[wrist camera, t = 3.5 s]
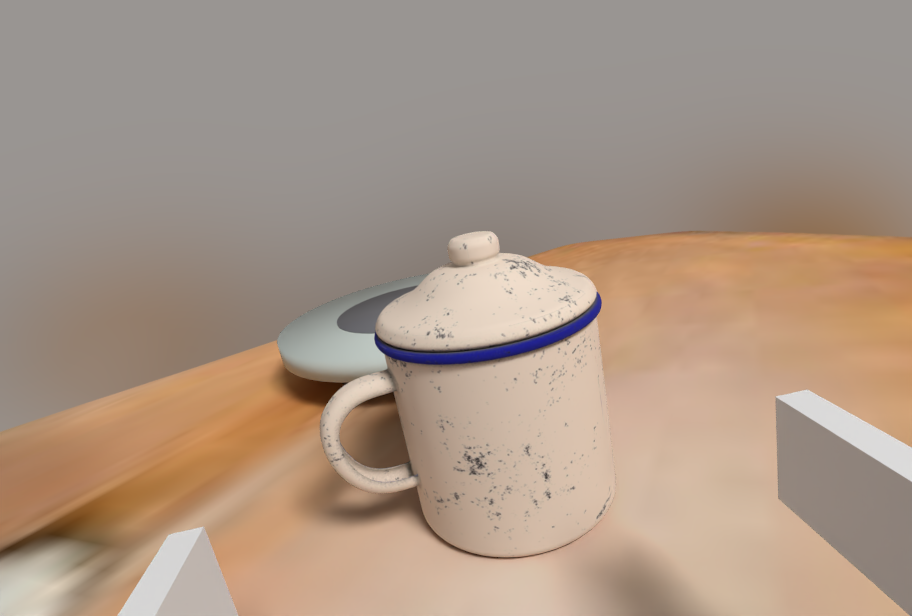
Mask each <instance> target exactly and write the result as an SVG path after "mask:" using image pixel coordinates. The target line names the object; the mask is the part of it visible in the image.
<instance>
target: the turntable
mask: <svg viewBox="0 0 912 616" xmlns="http://www.w3.org/2000/svg"><path fill="white" fill-rule="evenodd" d="M428 275H429V274H425V275H420V276H414V277H409V278H405V279H400V280H396V281H392V282H388V283H384V284H380V285H377V286H373V287H370V288H366V289H363V290H360V291H357V292H354V293H351V294H348V295H345V296H343V297H340V298H338V299H335V300H332V301H330V302H328V303H326V304H323V305H321V306H319V307H317V308H315V309H313V310H311V311H309V312H307V313H305V314H303V315H302V316H300V317H298V318H297V319H295V320H294V321H293V322H291V323H290V324H289V325H288V326H286V327H285V328H284V330H283V331H282V332H281V333H280V335H279V337H278V341H277V344H278V347H279V351H280V354H281V357H282V361H283V363H284V366H285V368H286V369H287V370H288V371H289V372H291V373H293V374H295V375H297V376H299V377H302V378H306V379H309V380H316V381H322V382H338V383H341V382H351V381H353V380H355V379H357V378H360V377H363V376H366V375H369V374H372V373H376V372H379V371H383V370H386V369H387V363H386V359H385V355H384V354H383V353H382V352H381V351H380V350H379V349H378V348H377V346H376V344H375V340H374V336H375V332H376V330H375V326H376V322H377V319H378V317H379V315H380V313H381V312H382V310H383V309H384V308H385V307H386V306H387V305H389V304H390V303H391V302H392V301H394V300H395V299H397V298H399V297H401V296H402V295H404V294H406V293H408V292H410V291H413V290H414V289H415V288H416V287H417V286H418V285H419V284H420V283H421V282H422V281H423V280H424V279H425V278H426V277H427V276H428Z"/></svg>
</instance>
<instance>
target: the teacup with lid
mask: <svg viewBox="0 0 912 616" xmlns="http://www.w3.org/2000/svg"><path fill="white" fill-rule="evenodd" d="M448 254H449V258H450V260H451V261H452V262H450V263H448V264H445V265H443V266H441V267H439V268H437V269H436V270H434V271H433V272H432V273H430V274H429V275H428V276H427V277H426V278H425V279H424V280H423V281H422V282H421V283H420V284H419V285H418V286H417V287H416V288H415V289H414V290H413V291H410V292H408V293H406V294H404V295H402V296H401V297H399V298H397V299H395V300H394V301H392V302H391V303H390V304H389V305H387V306H386V307H385V308H384V309H383V310H382V312H381V313H380V315H379V317H378V319H377V322H376V326H375V330H376V332H375V336H374V340H375V344H376V346H377V348H378V349H379V350H380V351H381V352H382V353H383V354H384V355H385V359H386V363H387V369H386V370H383V371H379V372H376V373H372V374H369V375H366V376H363V377H360V378H357V379H355V380H353V381H351V382H349V383H347V384H346V385H344V386H343V387H342V388H340V389H339V390H338V391H337V392H336V393H335V394H334V395H333V396H332V398H331V399H330V400H329V402H328V403H327V405H326V407H325V408H324V411H323V413H322V416H321V421H320V437H321V442H322V446H323V449H324V452H325V454H326V456H327V459H328V460H329V462H330V464H331V465H332V467H333V468H334V469H335V471H336V472H337V473H338V474H339V475H340V476H341V477H342V478H343V479H344V480H345V481H347V482H348V483H350V484H351V485H353V486H354V487H356V488H358V489H361V490H363V491H366V492H370V493H378V494H385V493H393V492H398V491H402V490H406V489H409V488H412V487H415V486H417V490H418V494H419V499H420V503H421V507H422V511H423V514H424V516H425V518H426V521H427V522H428V524H429V525H430V527H431V528H432V529H433V530H434V531H435V533H437V534H438V535H439V536H440V537H441V538H442V539H444V540H445V541H447V542H448V543H450V544H452V545H454V546H455V547H458V548H460V549H462V550H465V551H468V552H471V553H474V554H479V555H484V556H491V557H522V556H529V555H535V554H540V553H544V552H548V551H551V550H554V549H557V548H560V547H562V546H564V545H567V544H569V543H571V542H573V541H575V540H576V539H578V538H580V537H581V536H583V535H584V534H586V533H587V532H588V531H590V530H591V529H592V528H593V527H594V526H595V525H596V524H597V523H599V521H600V520H601V519H602V518H603V517H604V516H605V514H606V513H607V511H608V510H609V508H610V506H611V504H612V501H613V499H614V495H615V491H616V474H615V466H614V457H613V449H612V440H611V432H610V424H609V415H608V407H607V399H606V390H605V382H604V374H603V365H602V357H601V349H600V340H599V332H598V324H597V315H598V313H599V312H600V309H601V303H602V302H601V298H600V295H599V294H598V292H597V291H596V287H595V286H594V284H593V283H592V282H591V280H590V279H589V278H588V277H586V276H585V275H583V274H582V273H580V272H577V271H575V270H571V269H567V268H562V267H554V266H544V265H542V264H539V263H537V262H535V261H533V260H531V259H529V258H527V257H524V256H521V255H517V254H509V253H499V243H498V238H497V237H496V236H495V234H493V233H492V232H489V231H480V232H473V233H468V234H464V235H460V236H457V237H454V238H453V239H451V240H450V242H449V244H448ZM391 392H394V396H395V400H396V404H397V408H398V412H399V417H400V421H401V425H402V429H403V433H404V437H405V441H406V445H407V449H408V453H409V458H410V461H409V462H408V463H405V464H401V465H398V466H394V467H389V468H371V467H367V466H365V465H362V464H361V463H359V462H357V461H356V460H354V459H353V458H352V457H351V456H350V455H349V454H348V453H347V452H346V451H345V449H344V448H343V446H342V445H341V443H340V436H339V434H340V428H341V425H342V423H343V421H344V419H345V418H346V416H347V415H348V414H349V412H350V411H351V410H352V409H354V408H355V407H356V406H357V405H359V404H361V403H362V402H364V401H367V400H369V399H372V398H375V397H378V396H381V395H384V394H388V393H391Z"/></svg>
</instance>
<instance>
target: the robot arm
mask: <svg viewBox="0 0 912 616" xmlns="http://www.w3.org/2000/svg"><path fill="white" fill-rule="evenodd" d="M776 429H777V466H778V499H780V500H781V501H782V502H783V503H784V504H785V505H786V506H787V507H789V508H790V509H791V510H792V511H793V512H794V513H795V514H796V515H798V516H799V517H800V518H801V519H802V520H803V521H804V522H805V523H807V524H808V525H809V526H810V527H811V528H812V529H813V530H814V531H815V532H817V533H818V534H819V535H820V536H821V537H822V538H823V539H824V540H826V541H827V542H828V543H829V544H830V545H831V546H832V547H833V548H835V549H836V550H837V551H838V552H839V553H840V554H841V555H842V556H844V557H845V558H846V559H847V560H848V561H849V562H850V563H851V564H853V565H854V566H855V567H856V568H857V569H858V570H859V571H860V572H862V573H863V574H864V575H865V576H866V577H867V578H868V579H869V580H871V581H872V582H873V583H874V584H875V585H876V586H877V587H878V588H880V589H881V590H882V591H883V592H884V593H885V594H886V595H887V596H888V597H890V598H891V599H892V600H893V601H894V602H895V603H896V604H897V605H899V606H900V607H901V608H902V609H903V610H904V611H905V612H906V613H908V614H909V615H910V616H912V448H911V447H909V446H908V445H906V444H904V443H902V442H900V441H899V440H897V439H895V438H893V437H892V436H890V435H888V434H886V433H884V432H883V431H881V430H879V429H877V428H875V427H874V426H872V425H870V424H868V423H866V422H865V421H863V420H861V419H859V418H857V417H856V416H854V415H852V414H850V413H848V412H847V411H845V410H843V409H841V408H840V407H838V406H836V405H834V404H832V403H831V402H829V401H827V400H825V399H823V398H822V397H820V396H818V395H816V394H814V393H813V392H811V391H809V390H803V391H799V392H795V393H790V394H786V395H781V396H777V397H776ZM118 616H238V614H237V611H236V608H235V606H234V603H233V601H232V598H231V595H230V593H229V590H228V588H227V585H226V583H225V580H224V577H223V575H222V572H221V570H220V567H219V564H218V562H217V559H216V557H215V554H214V552H213V549H212V546H211V544H210V541H209V539H208V536H207V533H206V531H205V528H204V527H200V528H196V529H191V530H187V531H182V532H178V533H174V534H169V535H168V537H167V538H166V540H165V541H164V543H163V545H162V546H161V548H160V549H159V551H158V553H157V554H156V556H155V557H154V559H153V560H152V562H151V564H150V565H149V567H148V568H147V570H146V572H145V573H144V575H143V576H142V578H141V580H140V581H139V583H138V584H137V586H136V587H135V589H134V591H133V592H132V594H131V595H130V597H129V599H128V600H127V602H126V603H125V605H124V607H123V608H122V610H121V611H120V613H119V614H118Z"/></svg>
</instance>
